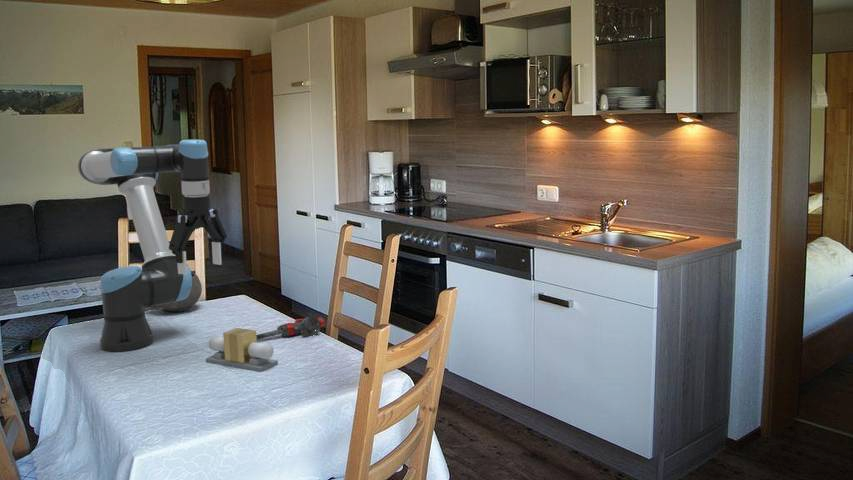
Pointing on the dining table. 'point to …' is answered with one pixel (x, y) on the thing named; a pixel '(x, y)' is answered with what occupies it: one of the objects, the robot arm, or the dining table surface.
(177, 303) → the bowl
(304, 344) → the dining table surface
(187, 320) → the dining table surface
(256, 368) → the shaft bed
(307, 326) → the valve
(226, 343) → the cardboard box
